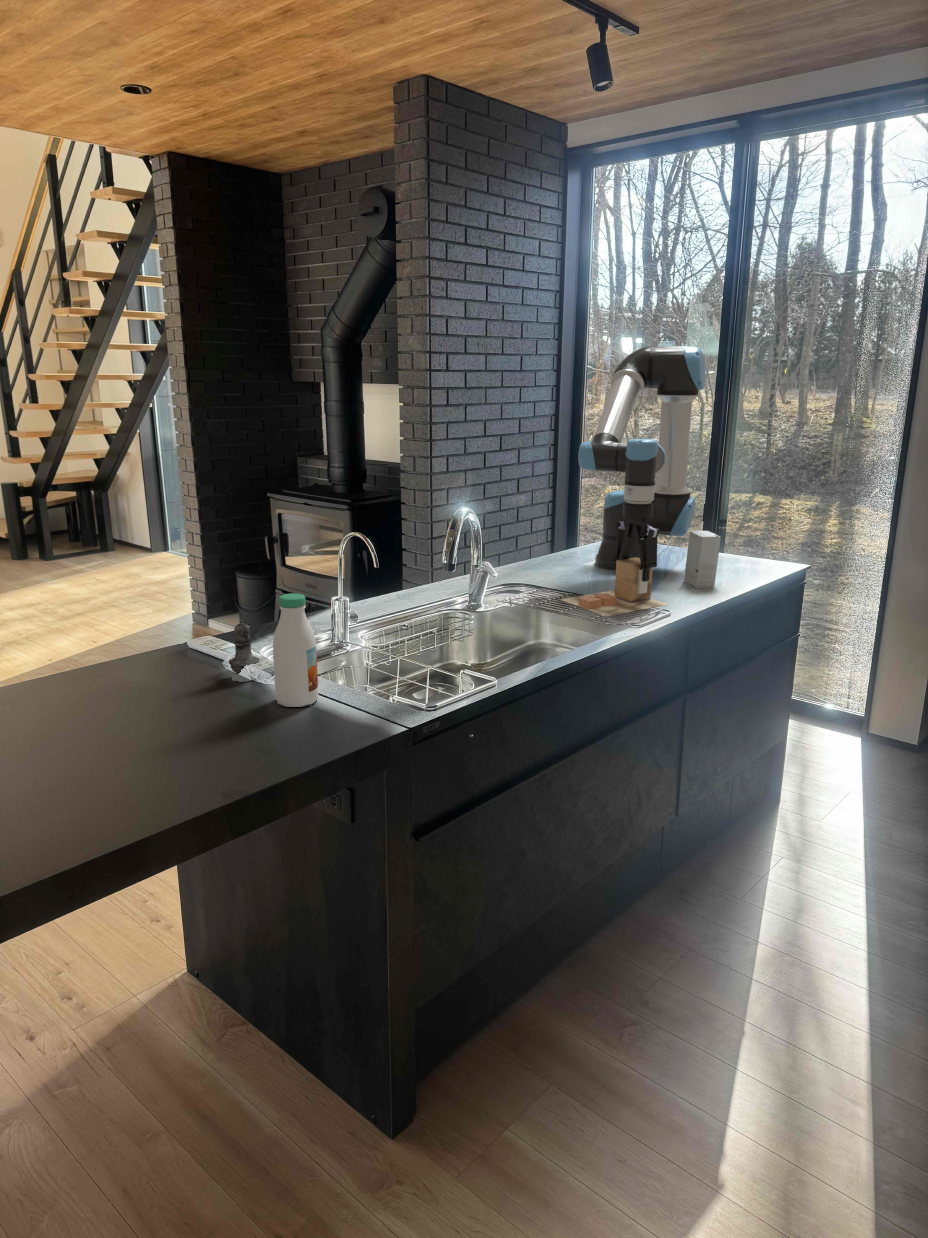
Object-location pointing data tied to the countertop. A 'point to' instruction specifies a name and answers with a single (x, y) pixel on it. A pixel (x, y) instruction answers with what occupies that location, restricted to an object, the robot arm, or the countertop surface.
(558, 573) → the countertop surface
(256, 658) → the dark grey chess piece
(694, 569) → the skincare box
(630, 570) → the cardboard box
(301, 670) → the milk bottle
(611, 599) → the terracotta square block
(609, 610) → the birch board
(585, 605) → the salmon orange square block
